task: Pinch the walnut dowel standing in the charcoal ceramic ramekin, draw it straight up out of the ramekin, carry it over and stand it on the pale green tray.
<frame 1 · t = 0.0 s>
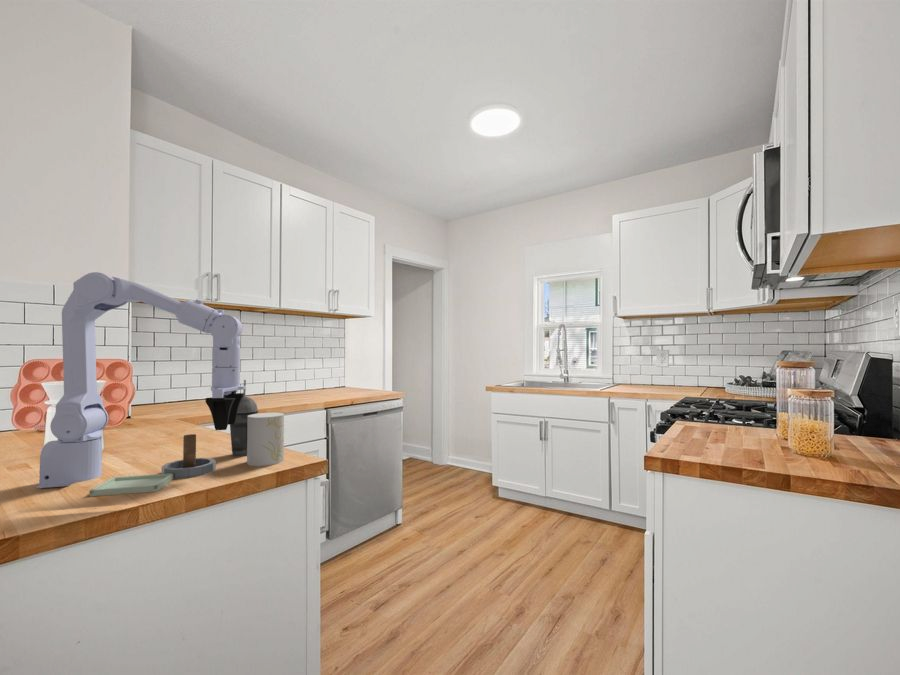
hand: (225, 427, 100), 10 cm above the countertop, tool pointing down, fingers open, 7 cm apart
dowel: (189, 471, 96), point 1 cm above the countertop, touching ramekin
cup: (265, 465, 105), on the countertop
tray: (134, 490, 86), on the countertop
beverage cup: (242, 458, 113), on the countertop
ramekin: (189, 475, 96), on the countertop
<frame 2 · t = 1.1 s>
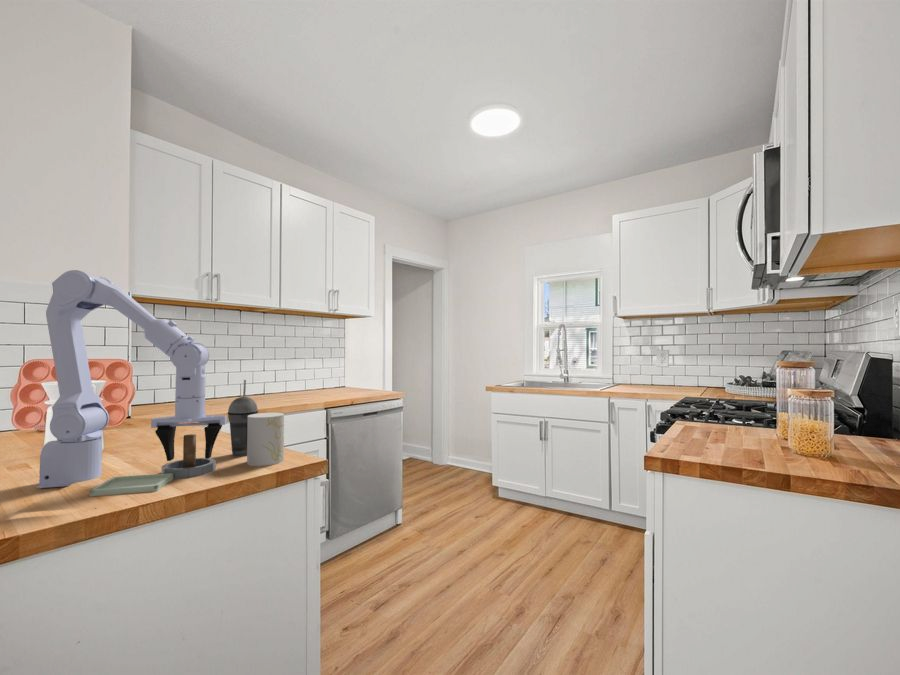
hand: (189, 458, 97), 4 cm above the countertop, tool pointing down, fingers open, 7 cm apart
nothing on the countertop moved.
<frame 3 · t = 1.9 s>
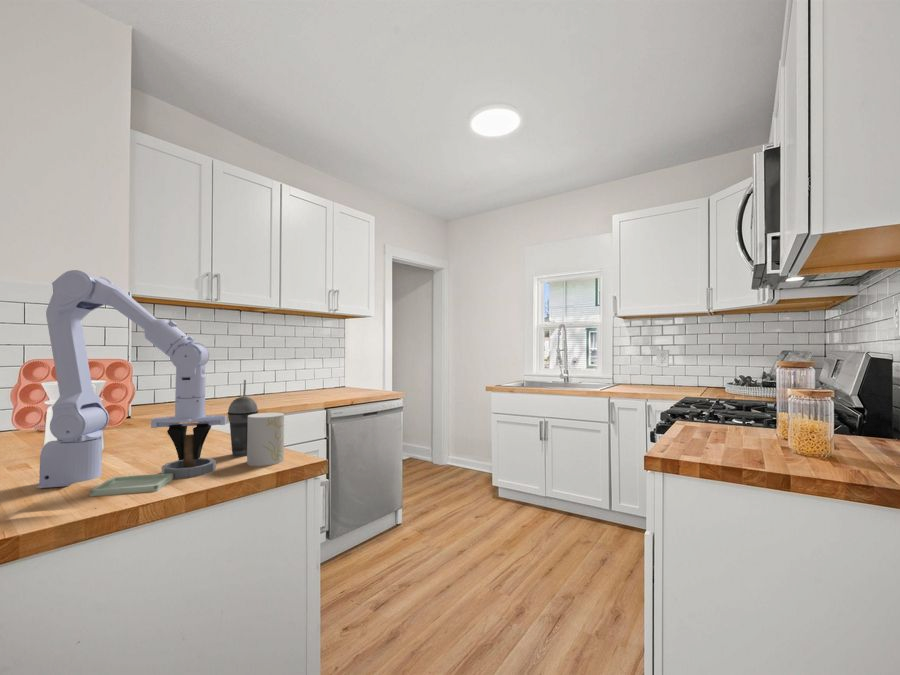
hand: (189, 458, 97), 4 cm above the countertop, tool pointing down, fingers closed on dowel, 2 cm apart
dowel: (189, 471, 96), point 1 cm above the countertop, touching gripper, ramekin
everything else where it was.
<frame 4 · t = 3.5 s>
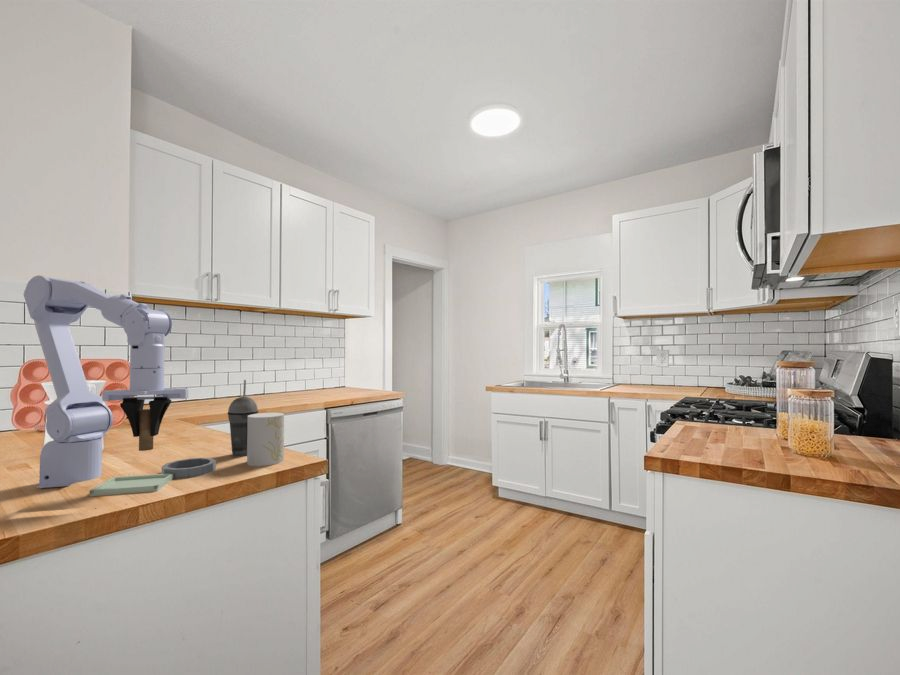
hand: (145, 435, 88), 10 cm above the countertop, tool pointing down, fingers closed on dowel, 2 cm apart
dowel: (146, 449, 88), point 8 cm above the countertop, touching gripper
everything else where it was.
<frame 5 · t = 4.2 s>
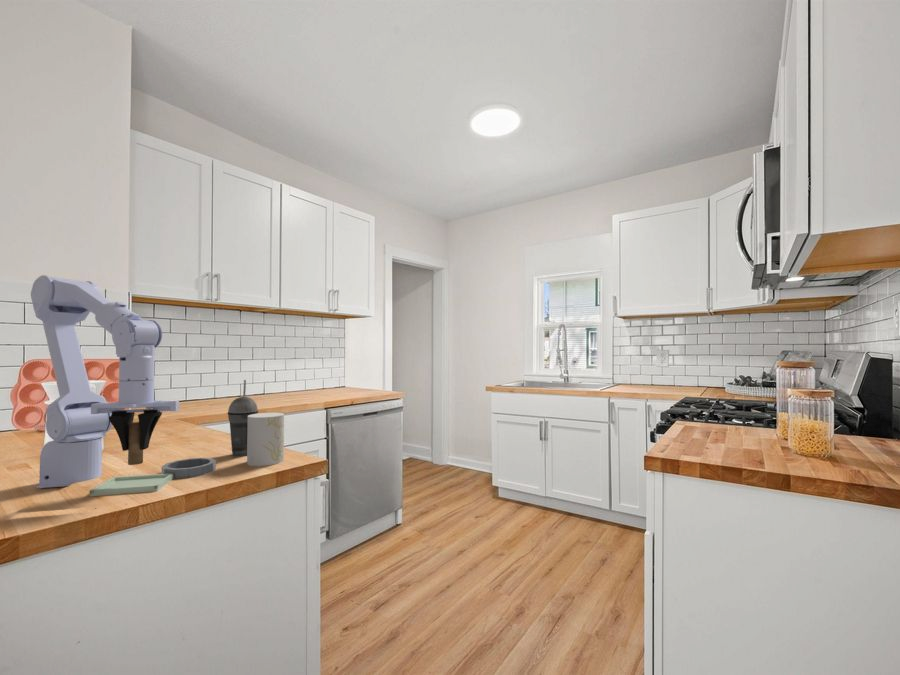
hand: (135, 449, 86), 8 cm above the countertop, tool pointing down, fingers closed on dowel, 2 cm apart
dowel: (135, 463, 86), point 5 cm above the countertop, touching gripper
everything else where it was.
when the fingers open (5 cm above the countertop, at t = 5.0 s): dowel stays where it is, resting on tray.
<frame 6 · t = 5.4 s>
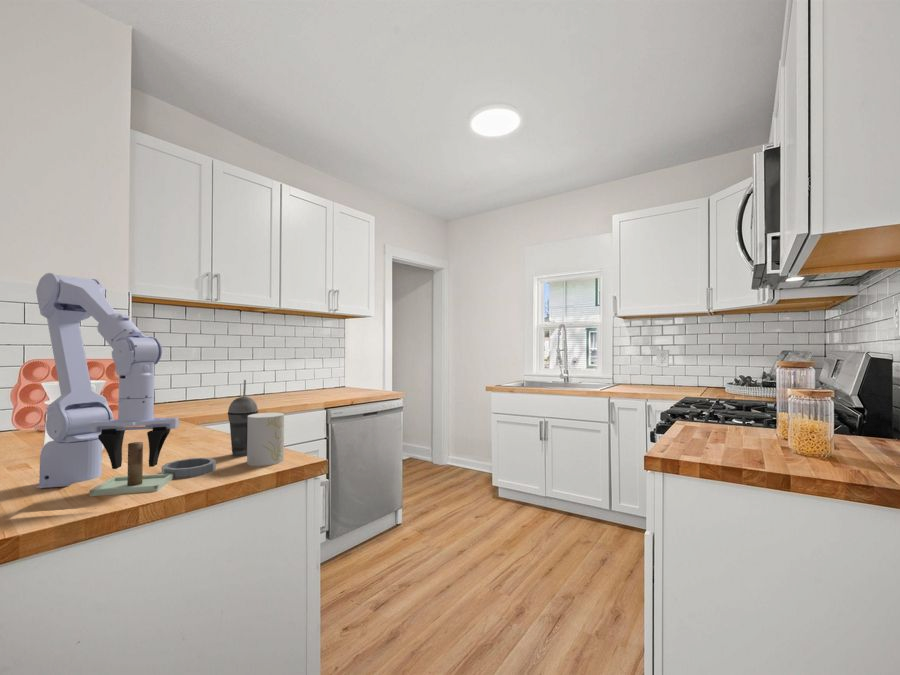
hand: (135, 466, 86), 5 cm above the countertop, tool pointing down, fingers open, 6 cm apart
dowel: (134, 484, 86), point 1 cm above the countertop, touching tray
everything else where it was.
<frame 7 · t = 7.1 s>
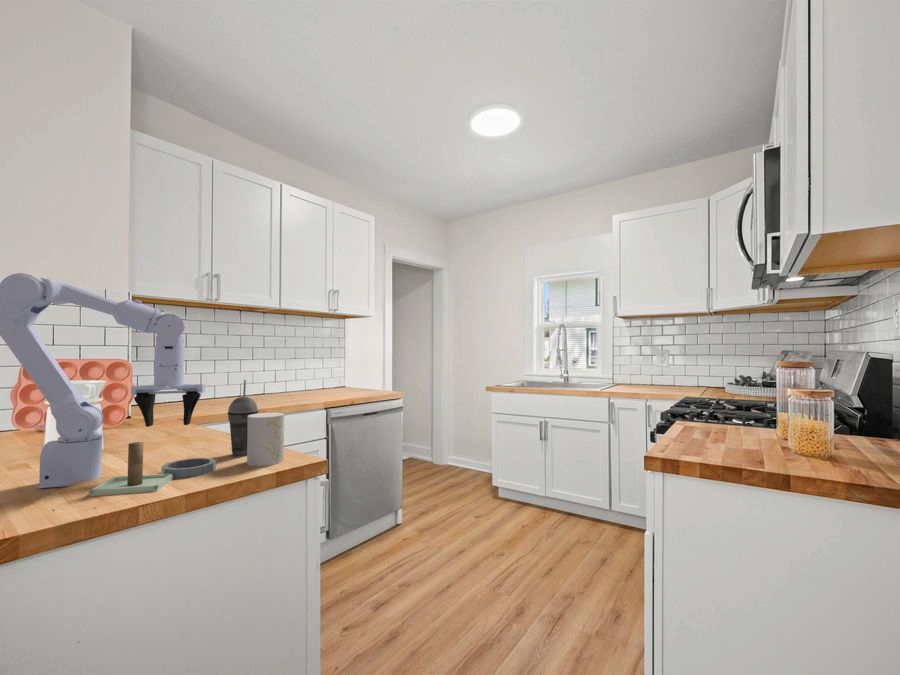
hand: (168, 425, 100), 10 cm above the countertop, tool pointing down, fingers open, 7 cm apart
nothing on the countertop moved.
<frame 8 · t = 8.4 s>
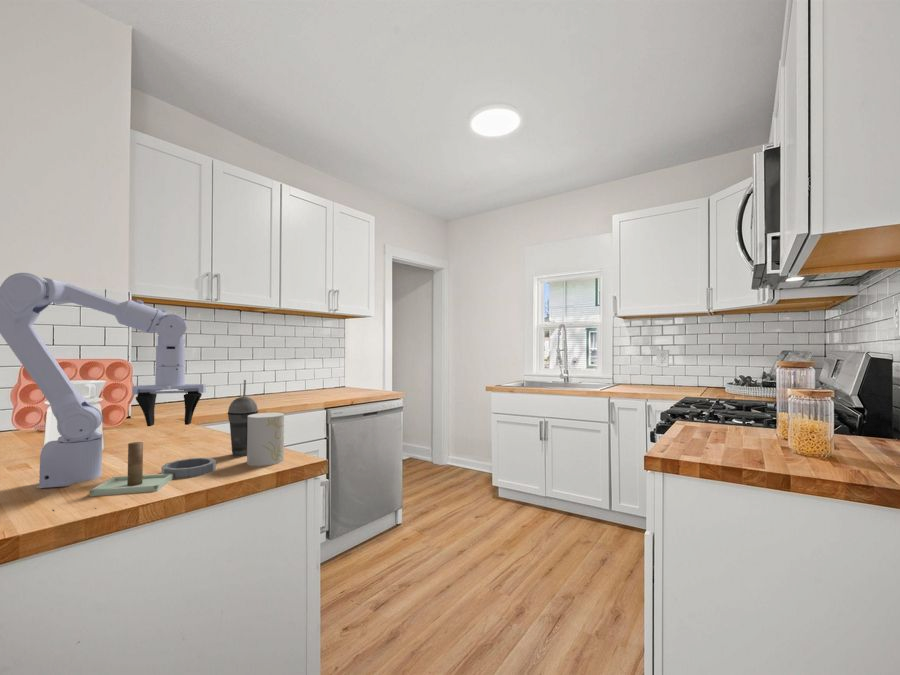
hand: (169, 424, 101), 10 cm above the countertop, tool pointing down, fingers open, 7 cm apart
nothing on the countertop moved.
at the end: dowel inside the target area on the tray (0.1 cm from its centre), point 1.2 cm above the tray's base; dowel tilted 0°; the gripper is holding nothing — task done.
